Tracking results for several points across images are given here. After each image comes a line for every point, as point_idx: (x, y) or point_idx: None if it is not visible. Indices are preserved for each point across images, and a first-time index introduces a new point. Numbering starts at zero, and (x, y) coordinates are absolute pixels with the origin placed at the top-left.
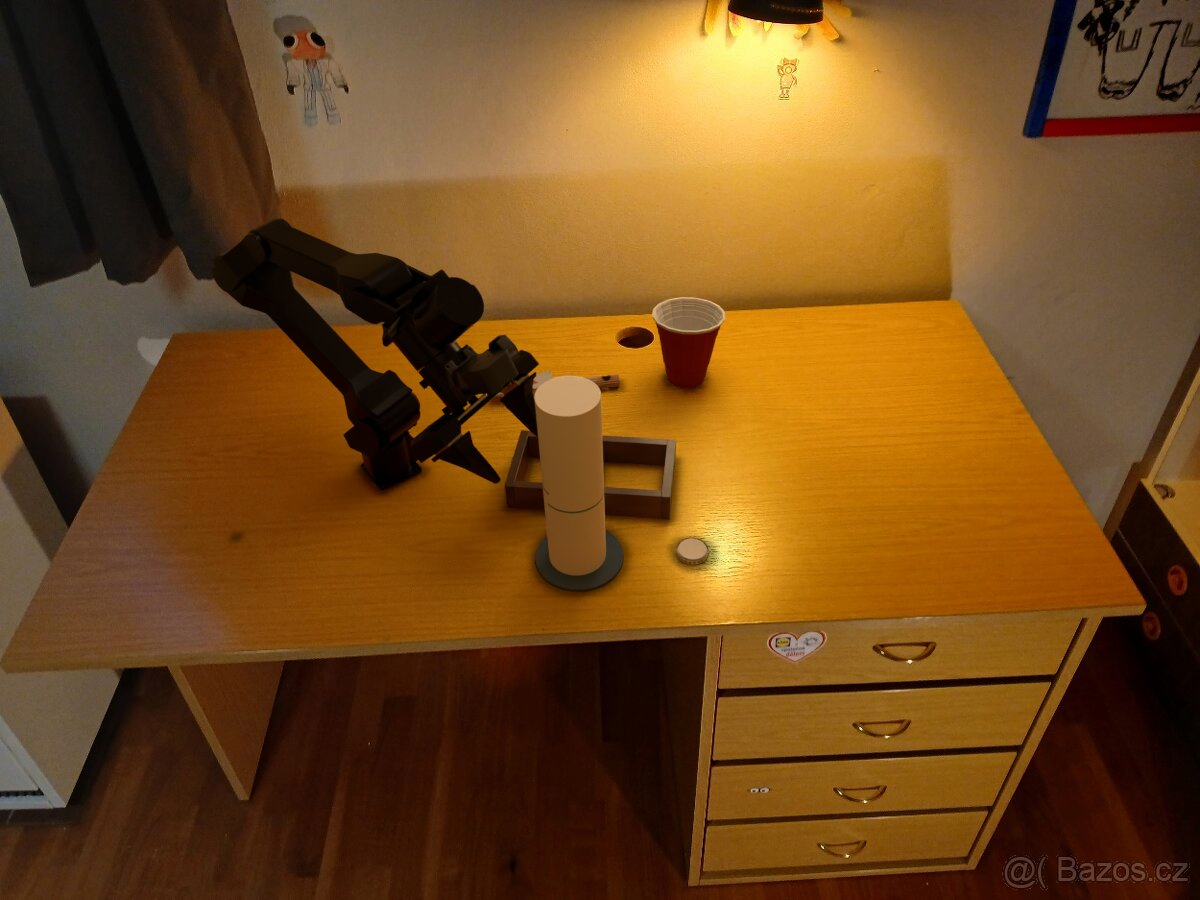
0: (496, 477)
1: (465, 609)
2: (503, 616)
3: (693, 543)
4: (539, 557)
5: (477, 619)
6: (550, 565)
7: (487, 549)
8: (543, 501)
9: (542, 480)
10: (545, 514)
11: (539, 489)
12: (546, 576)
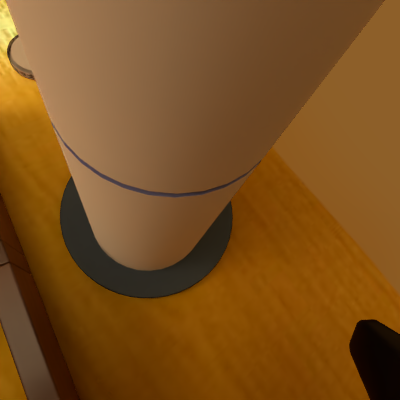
0: (393, 331)
1: (360, 315)
2: (327, 249)
3: (23, 53)
4: (197, 272)
5: (359, 282)
6: (201, 242)
7: (234, 390)
8: (59, 363)
9: (272, 145)
10: (219, 213)
11: (53, 375)
12: (226, 233)
